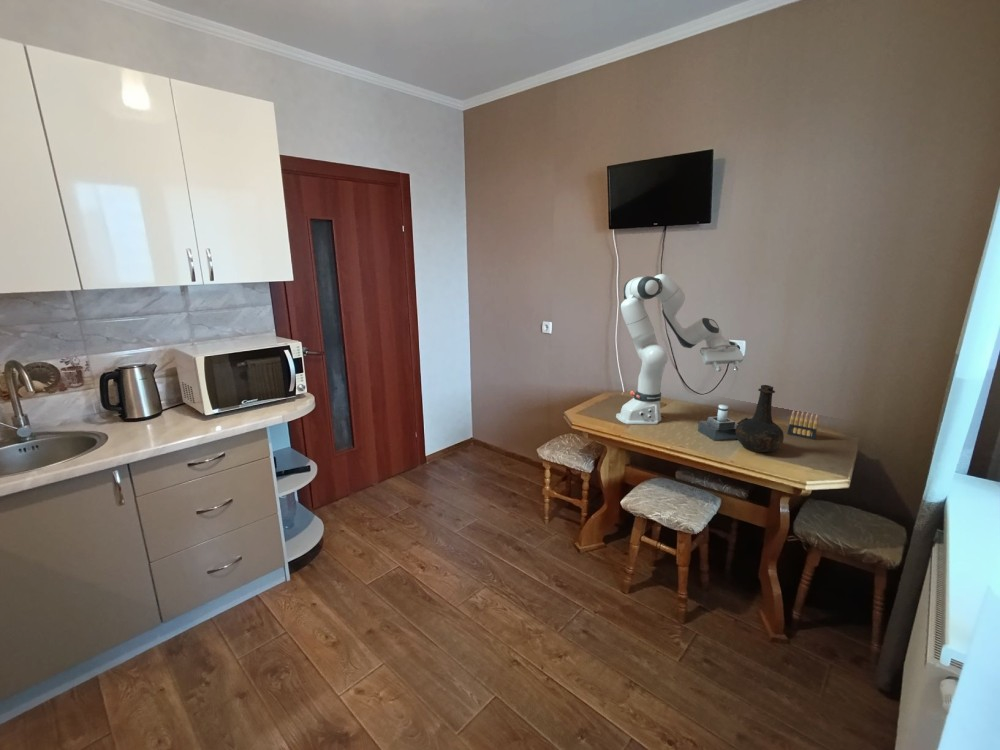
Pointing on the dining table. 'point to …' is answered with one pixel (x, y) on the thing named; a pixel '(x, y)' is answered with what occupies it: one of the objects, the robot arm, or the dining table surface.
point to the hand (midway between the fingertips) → (728, 370)
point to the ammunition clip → (803, 425)
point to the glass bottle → (760, 426)
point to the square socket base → (718, 429)
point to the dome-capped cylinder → (722, 413)
